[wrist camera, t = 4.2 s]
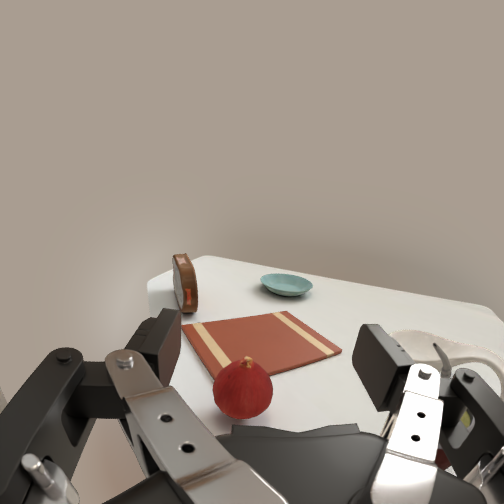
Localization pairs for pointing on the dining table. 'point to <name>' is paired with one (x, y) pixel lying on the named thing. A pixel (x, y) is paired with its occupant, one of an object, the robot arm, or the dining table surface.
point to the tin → (185, 283)
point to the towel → (259, 342)
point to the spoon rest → (447, 352)
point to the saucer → (286, 284)
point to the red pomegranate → (243, 389)
